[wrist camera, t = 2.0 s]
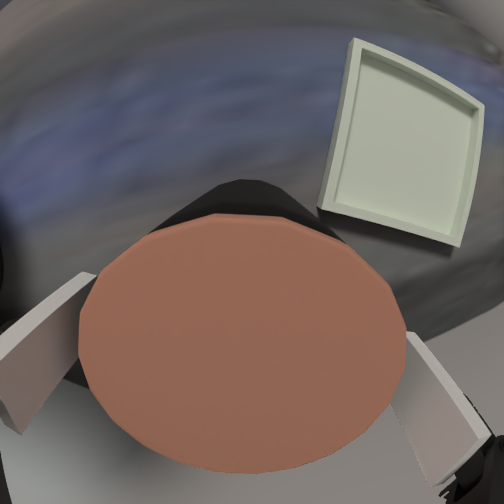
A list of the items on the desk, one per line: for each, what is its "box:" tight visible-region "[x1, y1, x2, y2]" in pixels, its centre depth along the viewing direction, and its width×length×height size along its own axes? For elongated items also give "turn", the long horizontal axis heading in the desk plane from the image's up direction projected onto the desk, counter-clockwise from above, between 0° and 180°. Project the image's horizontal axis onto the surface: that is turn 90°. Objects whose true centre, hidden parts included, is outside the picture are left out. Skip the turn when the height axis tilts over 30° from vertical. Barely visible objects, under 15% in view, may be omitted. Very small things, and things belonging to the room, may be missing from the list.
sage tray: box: [317, 38, 484, 247], centre depth 22 cm, size 16×16×2 cm
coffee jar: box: [78, 179, 407, 474], centre depth 16 cm, size 11×11×18 cm
